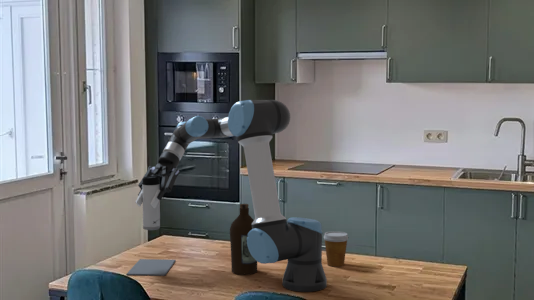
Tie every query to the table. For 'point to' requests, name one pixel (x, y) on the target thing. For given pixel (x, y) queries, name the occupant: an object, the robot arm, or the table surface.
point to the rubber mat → (151, 267)
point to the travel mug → (149, 213)
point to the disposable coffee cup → (335, 247)
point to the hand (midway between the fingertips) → (145, 205)
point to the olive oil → (242, 243)
